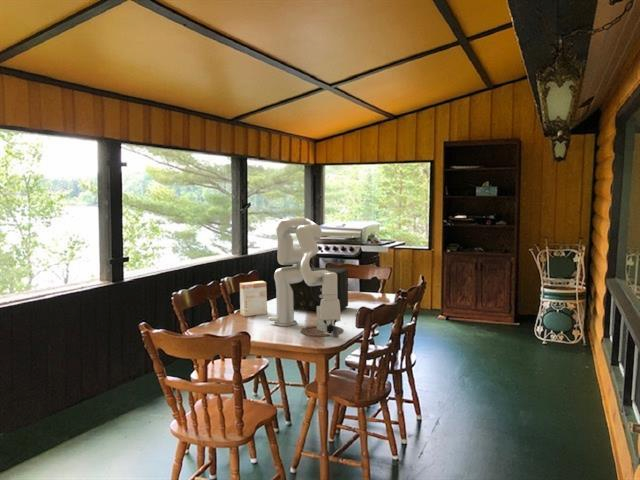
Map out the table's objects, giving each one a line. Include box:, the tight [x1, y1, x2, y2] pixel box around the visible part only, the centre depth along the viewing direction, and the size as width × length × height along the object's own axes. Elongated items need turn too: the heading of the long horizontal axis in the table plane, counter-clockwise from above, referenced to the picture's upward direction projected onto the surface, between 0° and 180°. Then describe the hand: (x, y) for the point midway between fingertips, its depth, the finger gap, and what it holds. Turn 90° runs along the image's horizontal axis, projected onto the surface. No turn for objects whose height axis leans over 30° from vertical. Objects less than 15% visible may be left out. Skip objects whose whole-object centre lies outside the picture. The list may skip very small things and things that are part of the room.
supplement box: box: [316, 306, 336, 333], centre depth 287 cm, size 7×7×13 cm
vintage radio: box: [290, 267, 349, 312], centre depth 340 cm, size 38×20×25 cm, turn 71°
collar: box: [300, 324, 344, 338], centre depth 282 cm, size 22×26×5 cm
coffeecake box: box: [239, 280, 268, 317], centre depth 328 cm, size 15×7×20 cm, turn 118°
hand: (330, 332), depth 272 cm, fingers closed
